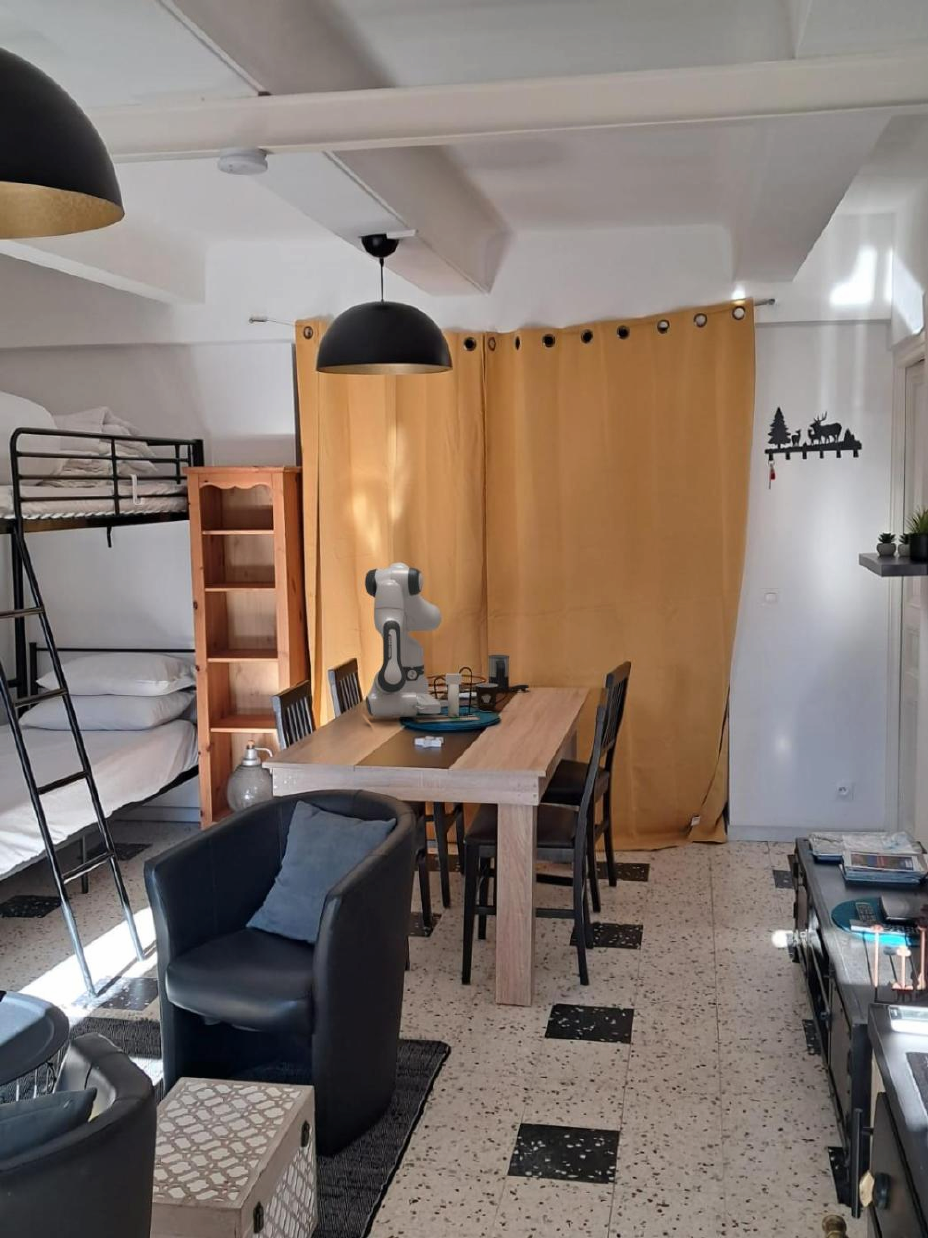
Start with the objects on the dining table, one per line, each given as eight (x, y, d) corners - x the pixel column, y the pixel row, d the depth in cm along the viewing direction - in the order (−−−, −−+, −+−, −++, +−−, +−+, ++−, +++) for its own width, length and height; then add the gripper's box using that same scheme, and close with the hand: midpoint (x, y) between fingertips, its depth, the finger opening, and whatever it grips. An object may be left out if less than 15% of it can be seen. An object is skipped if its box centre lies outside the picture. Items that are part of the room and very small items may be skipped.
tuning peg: (444, 715, 442) (444, 673, 440) (459, 714, 443) (459, 673, 442) (449, 719, 435) (449, 676, 433) (464, 718, 436) (464, 676, 434)
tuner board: (410, 720, 444) (410, 715, 443) (473, 717, 449) (473, 713, 449) (416, 726, 432) (416, 721, 432) (481, 723, 437) (481, 719, 437)
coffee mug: (471, 711, 461) (471, 685, 459) (481, 708, 468) (481, 682, 467) (498, 714, 455) (498, 688, 454) (508, 710, 463) (508, 685, 462)
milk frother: (484, 689, 511) (484, 654, 509) (517, 687, 517) (517, 652, 515) (498, 694, 498) (498, 659, 496) (532, 692, 504) (532, 657, 503)
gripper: (416, 700, 426) (454, 699, 430) (405, 691, 446) (442, 689, 449) (415, 718, 427) (453, 717, 430) (405, 707, 447) (442, 706, 450)
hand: (447, 703), depth 440 cm, fingers closed, pressing on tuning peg
